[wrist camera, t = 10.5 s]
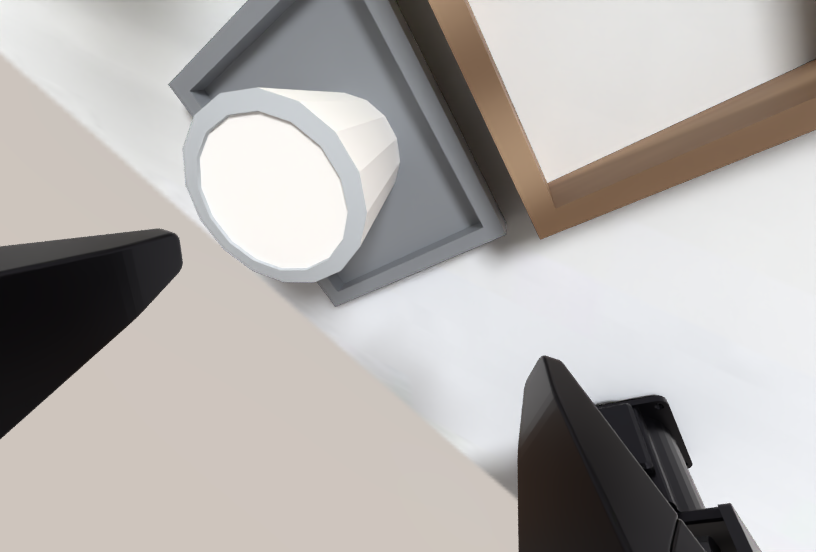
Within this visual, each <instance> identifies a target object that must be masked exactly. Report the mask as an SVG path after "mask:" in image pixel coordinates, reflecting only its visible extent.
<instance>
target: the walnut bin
mask: <svg viewBox="0 0 816 552" xmlns="http://www.w3.org/2000/svg"><path fill="white" fill-rule="evenodd" d="M428 2H429V4H430V6H431V8H432V10H433V12H434V14H435V17H436V19H437V21H438V23H439V25H440V27H441V29H442V31H443V34H444V36H445V38H446V40H447V42H448V44H449V46H450V49H451V51H452V53H453V55H454V57H455V59H456V61H457V63H458V66H459V68H460V70H461V72H462V74H463V76H464V78H465V80H466V83H467V85H468V87H469V89H470V91H471V93H472V95H473V97H474V100H475V102H476V104H477V106H478V108H479V110H480V112H481V114H482V117H483V119H484V121H485V123H486V125H487V127H488V129H489V132H490V134H491V136H492V138H493V140H494V142H495V144H496V146H497V149H498V151H499V153H500V155H501V157H502V159H503V161H504V163H505V166H506V168H507V170H508V172H509V174H510V176H511V178H512V180H513V183H514V185H515V187H516V189H517V191H518V193H519V195H520V197H521V200H522V202H523V204H524V206H525V208H526V210H527V212H528V215H529V217H530V219H531V221H532V223H533V225H534V227H535V229H536V232H537V234H538V236H539V238H540V240H541V239H543V238H546V237H548V236H551V235H553V234H556V233H558V232H561V231H563V230H566V229H568V228H571V227H573V226H576V225H578V224H581V223H583V222H586V221H588V220H591V219H593V218H596V217H598V216H601V215H603V214H606V213H608V212H611V211H613V210H616V209H618V208H621V207H623V206H626V205H628V204H631V203H633V202H636V201H638V200H641V199H643V198H646V197H648V196H651V195H653V194H656V193H658V192H661V191H663V190H666V189H668V188H671V187H673V186H676V185H678V184H681V183H683V182H686V181H688V180H691V179H693V178H696V177H698V176H701V175H703V174H706V173H708V172H711V171H713V170H716V169H719V168H721V167H724V166H726V165H729V164H731V163H734V162H736V161H739V160H741V159H744V158H746V157H749V156H751V155H754V154H756V153H759V152H761V151H764V150H766V149H769V148H771V147H774V146H776V145H779V144H781V143H784V142H786V141H789V140H791V139H794V138H796V137H799V136H801V135H804V134H806V133H809V132H811V131H814V130H816V59H815V60H813V61H811V62H808V63H806V64H804V65H802V66H800V67H798V68H796V69H793V70H791V71H789V72H787V73H785V74H783V75H780V76H778V77H776V78H774V79H772V80H770V81H767V82H765V83H763V84H761V85H759V86H757V87H754V88H752V89H750V90H748V91H746V92H744V93H742V94H739V95H737V96H735V97H733V98H731V99H729V100H726V101H724V102H722V103H720V104H718V105H716V106H713V107H711V108H709V109H707V110H705V111H703V112H700V113H698V114H696V115H694V116H692V117H690V118H687V119H685V120H683V121H681V122H679V123H677V124H675V125H672V126H670V127H668V128H666V129H664V130H662V131H659V132H657V133H655V134H653V135H651V136H649V137H646V138H644V139H642V140H640V141H638V142H636V143H633V144H631V145H629V146H627V147H625V148H623V149H620V150H618V151H616V152H614V153H612V154H610V155H608V156H605V157H603V158H601V159H599V160H597V161H595V162H592V163H590V164H588V165H586V166H584V167H582V168H579V169H577V170H575V171H573V172H571V173H569V174H566V175H564V176H562V177H560V178H558V179H556V180H553V181H551V182H549V183H547V182H546V179H545V177H544V175H543V172H542V170H541V168H540V166H539V163H538V161H537V159H536V156H535V154H534V152H533V150H532V147H531V145H530V143H529V140H528V138H527V136H526V133H525V131H524V129H523V127H522V124H521V122H520V120H519V117H518V115H517V113H516V110H515V108H514V106H513V104H512V101H511V99H510V97H509V94H508V92H507V90H506V87H505V85H504V83H503V81H502V78H501V76H500V74H499V71H498V69H497V67H496V64H495V62H494V60H493V58H492V55H491V53H490V51H489V48H488V46H487V44H486V41H485V39H484V37H483V35H482V32H481V30H480V28H479V25H478V23H477V21H476V18H475V16H474V14H473V12H472V9H471V7H470V5H469V2H468V0H428Z"/></svg>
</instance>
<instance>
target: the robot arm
mask: <svg viewBox="0 0 816 552" xmlns="http://www.w3.org/2000/svg"><path fill="white" fill-rule="evenodd" d="M182 264H183V261H182V254H181V246H180V240H179V237H178V236H177V235H176V234H175V233H172V232H170V231H167V230H164V229H150V230H141V231H133V232H123V233H115V234H106V235H97V236H89V237H80V238H71V239H62V240H53V241H45V242H36V243H27V244H18V245H9V246H1V247H0V439H1V438H2V437H3V436H5V435H6V434H7V433H8V432H9V431H10V430H11V429H12V428H13V427H15V426H16V425H17V424H18V423H19V422H20V421H21V420H22V419H24V418H25V417H26V416H27V415H28V414H29V413H30V412H31V411H32V410H34V409H35V408H36V407H37V406H38V405H39V404H40V403H41V402H43V401H44V400H45V399H46V398H47V397H48V396H49V395H51V394H52V393H53V392H54V391H55V390H56V389H57V388H58V387H59V386H61V385H62V384H63V383H64V382H65V381H66V380H67V379H69V378H70V377H71V376H72V375H73V374H74V373H75V372H76V371H78V370H79V369H80V368H81V367H82V366H83V365H84V364H85V363H86V362H88V361H89V360H90V359H91V358H92V357H93V356H94V355H95V354H97V353H98V352H99V351H100V350H101V349H102V348H103V347H104V346H106V345H107V344H108V343H109V342H110V341H111V340H112V339H113V338H115V337H116V336H117V335H118V334H119V333H120V332H121V331H122V330H124V329H125V328H126V327H127V326H128V325H129V324H130V323H131V322H132V321H133V320H134V319H136V318H137V317H138V316H139V315H140V314H141V313H142V312H143V311H144V310H145V309H146V307H147V306H148V305H149V304H150V303H151V302H152V301H153V300H154V299H155V298H156V297H157V296H158V294H159V293H160V292H161V291H162V290H163V289H164V288H165V287H166V286H167V285H168V283H170V281H171V280H172V279H173V278H174V277H175V276H176V275H177V274H178V273H179V272H180V270H181V268H182ZM691 466H692V461H691V459H690V456H689V454H688V452H687V449H686V447H685V444H684V442H683V439H682V437H681V434H680V432H679V429H678V427H677V424H676V422H675V419H674V417H673V414H672V412H671V409H670V407H669V404H668V402H667V400H666V399H665V397H663V396H659V395H657V396H650V397H645V398H639V399H634V400H628V401H623V402H618V403H612V404H607V405H602V406H595V405H594V403H593V402H592V401H591V399H590V398H589V397H588V395H587V394H586V393H585V391H584V390H583V389H582V387H581V386H580V385H579V384H578V382H577V381H576V380H575V378H574V377H573V376H572V374H571V373H570V372H569V370H568V369H567V368H566V366H565V365H564V364H563V363H562V362H561V361H560V360H558V359H555V358H551V357H548V356H545V355H544V356H541V357H540V358H539V360H538V361H537V363H536V365H535V367H534V368H533V370H532V372H531V373H530V375H529V377H528V379H527V381H526V384H525V387H524V395H523V405H522V414H521V423H520V433H519V442H518V535H519V552H761V550H760V548H759V547H758V545H757V544H756V542H755V541H754V539H753V537H752V536H751V534H750V533H749V531H748V530H747V528H746V526H745V525H744V523H743V522H742V520H741V519H740V517H739V515H738V514H737V512H736V511H735V509H734V508H733V506H732V504H731V503H727V504H720V505H718V507H714V508H706V509H705V507H704V504H703V502H702V500H701V497H700V495H699V493H698V491H697V488H696V486H695V484H694V482H693V479H692V477H691V475H690V473H689V470H688V468H690V467H691Z"/></svg>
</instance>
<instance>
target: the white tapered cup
mask: <svg viewBox="0 0 816 552" xmlns="http://www.w3.org/2000/svg"><path fill="white" fill-rule="evenodd" d="M183 160H184V171H185V183H186V187H187V190H188V192H189V194H190V197H191V199H192V202H193V204H194V206H195V209H196V211H197V213H198V216H199V218H200V220H201V222H202V223H203V224H204V225H205V227H206V228H207V229H208V230H209V232H210V233H211V234H212V235H213V237H214V238H215V239H216V240H217V242H218V243H219V244H220V245H221V247H222V248H223V249H224V250H225V251H226V252H228V253H229V254H230V255H232V256H233V257H234V258H236V259H237V260H239V261H240V262H241V263H243V264H244V265H245V266H247V267H248V268H249V269H251V270H252V271H254V272H257V273H260V274H263V275H265V276H268V277H271V278H274V279H276V280H279V281H282V282H317V281H319V280H321V279H323V278H326V277H328V276H330V275H332V274H335V273H337V272H339V271H341V270H342V269H343V268H344V266H345V265H346V264H347V263H348V261H349V260H350V259H351V258H352V256H353V255H354V254H355V253H356V251H357V250H358V249H359V248H360V246H361V244H362V242H363V240H364V239H365V237H366V235H367V233H368V231H369V229H370V228H371V226H372V224H373V222H374V220H375V218H376V217H377V215H378V213H379V211H380V209H381V207H382V206H383V204H384V202H385V200H386V198H387V196H388V195H389V193H390V191H391V189H392V187H393V185H394V184H395V180H396V176H397V172H398V168H399V164H400V158H399V150H398V143H397V138H396V136H395V134H394V132H393V130H392V128H391V126H390V124H389V123H388V121H387V119H386V117H385V116H384V115H383V114H382V113H381V112H380V111H378V110H377V109H376V108H375V107H374V106H373V105H372V104H370V103H369V102H368V101H367V100H365V99H362V98H359V97H356V96H353V95H350V94H347V93H340V92H324V91H307V90H291V89H275V88H259V87H257V88H250V89H244V90H237V91H231V92H224V93H219V94H218V95H217V96H216V97H215V98H214V99H212V100H211V101H210V102H209V103H208V104H207V105H206V106H204V107H203V108H202V109H201V110H200V111H199V112H198V113H196V114H195V115H194V117H193V120H192V122H191V125H190V128H189V131H188V134H187V137H186V140H185V143H184V146H183Z"/></svg>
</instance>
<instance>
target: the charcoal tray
mask: <svg viewBox="0 0 816 552" xmlns="http://www.w3.org/2000/svg"><path fill="white" fill-rule="evenodd" d="M168 85H169V86H170V87H171V89H172V90H173V91H174V93H175V94H176V95H177V97H178V98H179V99H180V101H181V102H182V103H183V105H184V106H185V107H186V109H187V110H188V111H189V113H190V114H191V115H192V117H194V115H195V114H196V113H198V112H199V111H200V110H201V109H202V108H203V107H204V106H206V105H207V104H208V103H209V102H210V101H211V100H212V99H214V98H215V97H216V96H217V95H218V94H219V93H224V92H231V91H237V90H244V89H250V88H257V87H259V88H275V89H291V90H307V91H324V92H340V93H347V94H350V95H353V96H356V97H359V98H362V99H365V100H367V101H368V102H369V103H370V104H372V105H373V106H374V107H375V108H376V109H377V110H378V111H380V112H381V113H382V114H383V115H384V116H385V117H386V119H387V121H388V123H389V124H390V126H391V128H392V130H393V132H394V134H395V136H396V138H397V143H398V150H399V158H400V164H399V168H398V172H397V176H396V180H395V184H394V185H393V187H392V189H391V191H390V193H389V195H388V196H387V198H386V200H385V202H384V204H383V206H382V207H381V209H380V211H379V213H378V215H377V217H376V218H375V220H374V222H373V224H372V226H371V228H370V229H369V231H368V233H367V235H366V237H365V239H364V240H363V242H362V244H361V246H360V248H359V249H358V250H357V251H356V253H355V254H354V255H353V256H352V258H351V259H350V260H349V261H348V263H347V264H346V265H345V266H344V268H343V269H342V270H341V271H339V272H337V273H335V274H332V275H330V276H328V277H326V278H323V279H321V280H319V281H317V283H318V284H319V285H320V287H321V288H322V289H323V291H324V292H325V293H326V295H327V296H328V297H329V299H330V300H331V301H332V303H333V304H334V305H335V307H336V306H338V305H341V304H343V303H346V302H348V301H350V300H353V299H355V298H357V297H360V296H362V295H364V294H367V293H369V292H372V291H374V290H376V289H379V288H381V287H383V286H386V285H388V284H390V283H393V282H395V281H398V280H400V279H402V278H405V277H407V276H409V275H412V274H414V273H417V272H419V271H421V270H424V269H426V268H428V267H431V266H433V265H435V264H438V263H440V262H443V261H445V260H447V259H450V258H452V257H454V256H457V255H459V254H462V253H464V252H466V251H469V250H471V249H473V248H476V247H478V246H480V245H483V244H485V243H488V242H490V241H492V240H495V239H497V238H499V237H502V236H504V235H506V221H505V219H504V217H503V215H502V213H501V211H500V209H499V207H498V205H497V203H496V201H495V199H494V197H493V195H492V193H491V191H490V189H489V187H488V185H487V183H486V181H485V179H484V177H483V175H482V173H481V171H480V169H479V167H478V165H477V163H476V161H475V159H474V157H473V155H472V153H471V151H470V149H469V147H468V145H467V143H466V141H465V139H464V137H463V135H462V133H461V131H460V129H459V127H458V125H457V123H456V121H455V119H454V117H453V115H452V113H451V111H450V109H449V107H448V105H447V103H446V101H445V99H444V97H443V95H442V93H441V91H440V89H439V87H438V85H437V83H436V81H435V79H434V77H433V75H432V73H431V71H430V69H429V67H428V65H427V63H426V61H425V59H424V57H423V55H422V53H421V51H420V49H419V47H418V45H417V43H416V41H415V39H414V37H413V35H412V33H411V31H410V29H409V27H408V25H407V23H406V21H405V19H404V17H403V15H402V13H401V11H400V9H399V7H398V5H397V3H396V1H395V0H248V1H247V2H246V3H245V4H244V5H243V6H242V7H241V8H240V9H239V10H238V11H237V12H236V13H235V14H234V15H233V17H232V18H231V19H230V20H229V21H228V22H227V23H226V24H225V25H224V26H223V27H222V28H221V29H220V30H219V31H218V32H217V33H216V35H215V36H214V37H213V38H212V39H211V40H210V41H209V42H208V43H207V44H206V45H205V46H204V47H203V48H202V49H201V50H200V52H199V53H198V54H197V55H196V56H195V57H194V58H193V59H192V60H191V61H190V62H189V63H188V64H187V65H186V66H185V67H184V68H183V70H182V71H181V72H180V73H179V74H178V75H177V76H176V77H175V78H174V79H173V80H172V81H171V82H170V83H169V84H168Z"/></svg>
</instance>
